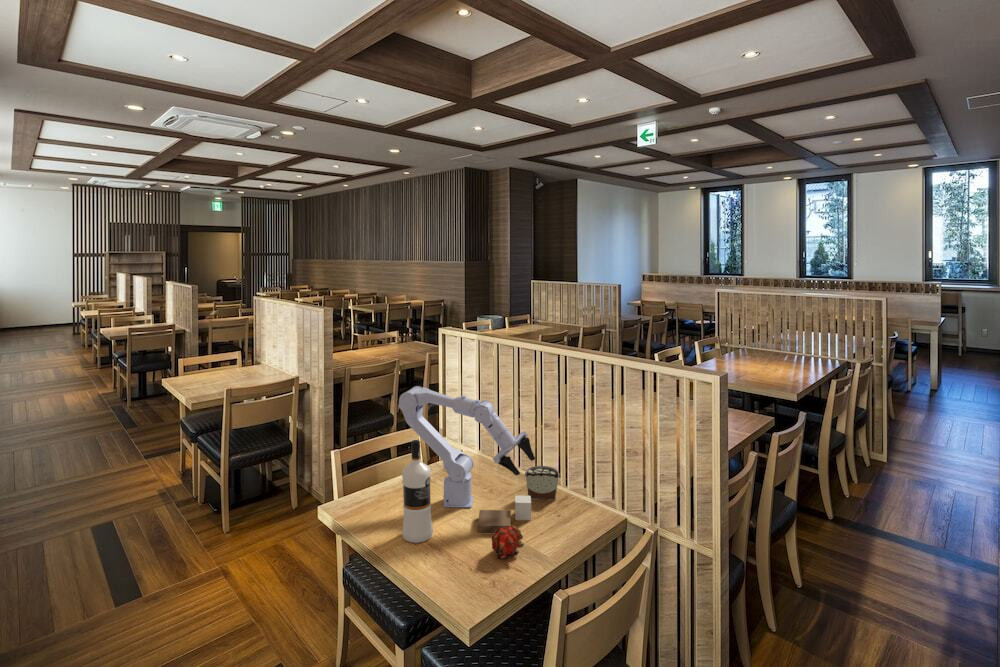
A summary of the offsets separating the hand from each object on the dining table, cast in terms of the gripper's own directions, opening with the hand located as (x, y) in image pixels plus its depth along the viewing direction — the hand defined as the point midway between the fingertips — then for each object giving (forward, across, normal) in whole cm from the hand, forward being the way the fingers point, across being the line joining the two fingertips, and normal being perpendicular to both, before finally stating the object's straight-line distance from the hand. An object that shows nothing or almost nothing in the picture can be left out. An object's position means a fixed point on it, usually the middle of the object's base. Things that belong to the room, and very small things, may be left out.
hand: (525, 467), depth 175 cm
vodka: (-6, -39, +9) cm, 40 cm away
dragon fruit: (+12, -26, -10) cm, 31 cm away
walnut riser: (+8, -19, +4) cm, 21 cm away
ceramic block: (+12, -9, +5) cm, 16 cm away
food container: (+14, +5, +14) cm, 20 cm away
